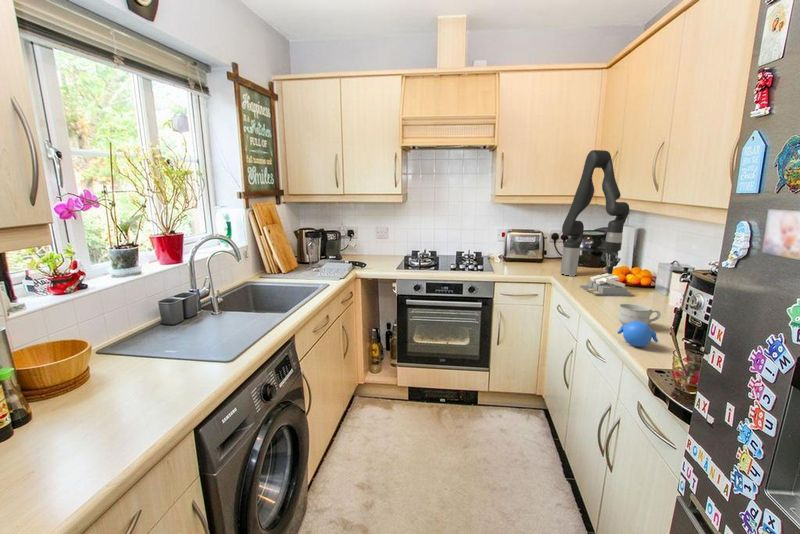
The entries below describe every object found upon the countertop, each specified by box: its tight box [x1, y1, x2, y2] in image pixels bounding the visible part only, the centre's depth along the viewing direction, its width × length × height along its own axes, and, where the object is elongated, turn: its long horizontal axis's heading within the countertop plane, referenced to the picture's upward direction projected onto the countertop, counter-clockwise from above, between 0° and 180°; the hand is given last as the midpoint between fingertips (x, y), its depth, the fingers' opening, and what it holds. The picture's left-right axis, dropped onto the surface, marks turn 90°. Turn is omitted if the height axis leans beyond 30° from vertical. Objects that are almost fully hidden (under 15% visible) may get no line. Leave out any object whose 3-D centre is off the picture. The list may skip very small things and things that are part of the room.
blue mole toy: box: [617, 321, 659, 348], centre depth 133 cm, size 12×12×8 cm
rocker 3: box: [602, 277, 626, 287], centre depth 195 cm, size 4×10×2 cm, turn 91°
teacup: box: [617, 303, 662, 326], centre depth 150 cm, size 14×11×8 cm
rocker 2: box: [596, 275, 620, 284], centre depth 200 cm, size 4×10×2 cm, turn 91°
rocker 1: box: [589, 272, 613, 282], centre depth 205 cm, size 4×10×2 cm, turn 91°
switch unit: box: [579, 279, 635, 297], centre depth 201 cm, size 17×19×5 cm
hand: (609, 273), depth 205 cm, fingers closed
